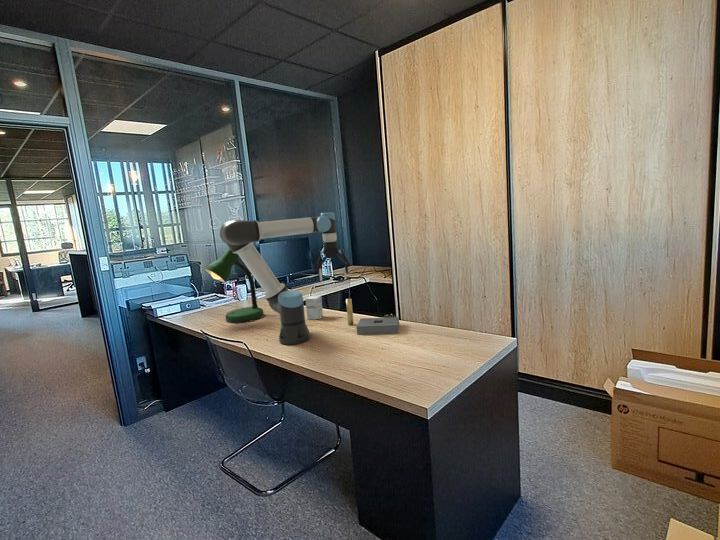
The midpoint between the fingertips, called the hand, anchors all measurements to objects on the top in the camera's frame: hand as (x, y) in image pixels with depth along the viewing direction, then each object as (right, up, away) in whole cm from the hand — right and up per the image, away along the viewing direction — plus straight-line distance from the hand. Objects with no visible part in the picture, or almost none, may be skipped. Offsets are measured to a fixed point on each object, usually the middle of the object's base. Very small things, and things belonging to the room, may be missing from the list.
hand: (333, 280), depth 204 cm
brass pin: (+10, -24, -4) cm, 26 cm away
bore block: (+24, -24, -16) cm, 38 cm away
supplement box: (-12, -23, +15) cm, 30 cm away
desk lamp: (-60, -25, +27) cm, 71 cm away
